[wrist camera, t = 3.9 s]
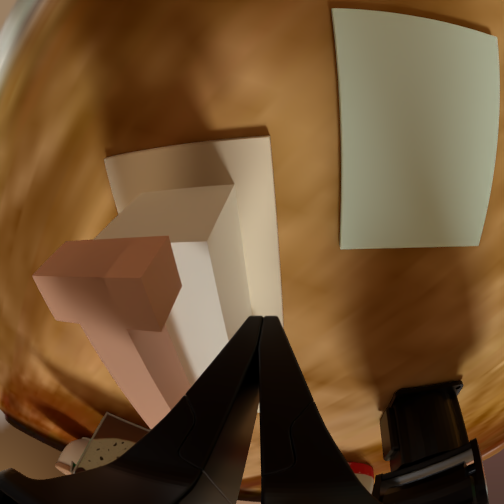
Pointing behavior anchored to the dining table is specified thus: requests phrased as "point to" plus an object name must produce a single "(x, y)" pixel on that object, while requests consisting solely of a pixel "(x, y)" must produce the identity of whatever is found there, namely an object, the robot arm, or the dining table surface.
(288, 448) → the robot arm
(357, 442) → the dining table surface
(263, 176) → the housing
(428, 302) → the dining table surface
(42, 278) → the latch bar
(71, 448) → the lidded jar
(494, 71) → the mat
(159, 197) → the block
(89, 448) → the food container
